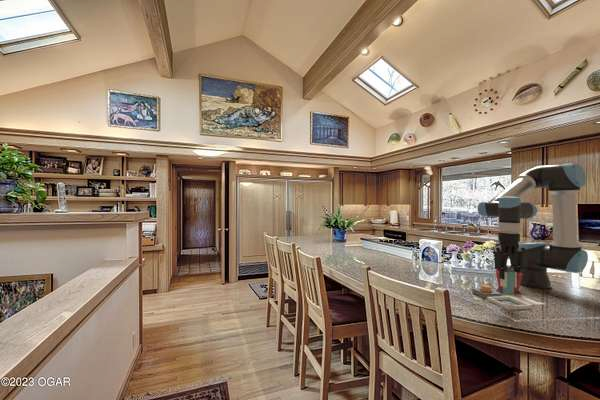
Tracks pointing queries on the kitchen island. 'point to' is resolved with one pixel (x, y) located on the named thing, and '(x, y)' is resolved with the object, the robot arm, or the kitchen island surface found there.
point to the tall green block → (509, 281)
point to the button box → (485, 295)
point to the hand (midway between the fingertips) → (508, 286)
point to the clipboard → (526, 299)
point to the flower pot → (517, 281)
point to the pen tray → (509, 307)
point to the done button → (486, 289)
